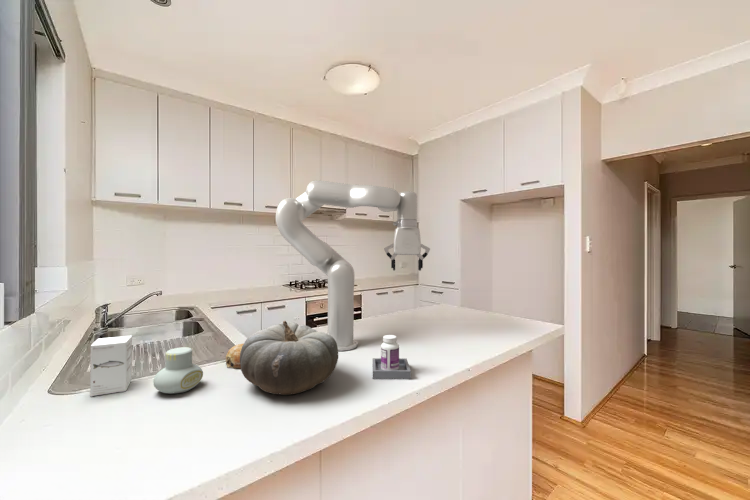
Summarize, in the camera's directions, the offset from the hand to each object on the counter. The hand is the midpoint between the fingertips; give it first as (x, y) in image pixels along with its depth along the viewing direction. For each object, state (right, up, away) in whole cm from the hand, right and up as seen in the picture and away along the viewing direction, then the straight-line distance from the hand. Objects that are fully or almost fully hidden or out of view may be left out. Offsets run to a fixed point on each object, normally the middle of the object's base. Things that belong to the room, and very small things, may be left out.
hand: (406, 270), depth 125 cm
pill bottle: (-8, -28, -28) cm, 40 cm away
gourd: (-34, -28, -36) cm, 57 cm away
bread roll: (-53, -28, -21) cm, 64 cm away
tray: (-7, -28, -28) cm, 40 cm away
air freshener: (-62, -28, -40) cm, 79 cm away
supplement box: (-79, -28, -41) cm, 93 cm away
